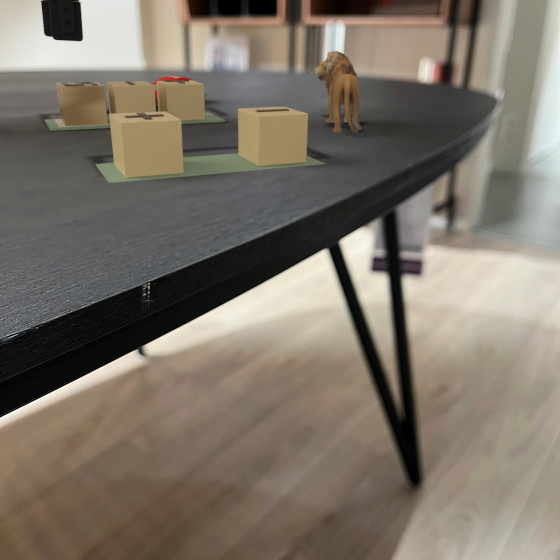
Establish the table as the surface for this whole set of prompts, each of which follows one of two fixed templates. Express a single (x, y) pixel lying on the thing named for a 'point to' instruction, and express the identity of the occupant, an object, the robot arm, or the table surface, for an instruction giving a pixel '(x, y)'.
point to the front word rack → (170, 162)
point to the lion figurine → (340, 90)
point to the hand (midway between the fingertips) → (62, 38)
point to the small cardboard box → (82, 103)
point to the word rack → (152, 102)
